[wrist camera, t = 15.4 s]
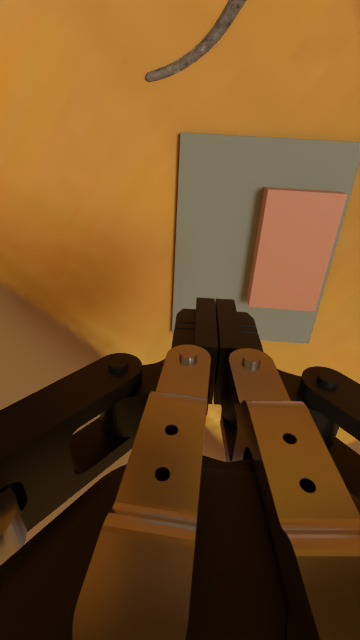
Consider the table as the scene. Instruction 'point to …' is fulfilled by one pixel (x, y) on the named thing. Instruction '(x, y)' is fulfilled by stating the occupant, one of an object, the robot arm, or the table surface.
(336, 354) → the table surface
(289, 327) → the mat
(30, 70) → the table surface
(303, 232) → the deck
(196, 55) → the pliers
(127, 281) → the table surface
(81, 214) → the table surface
